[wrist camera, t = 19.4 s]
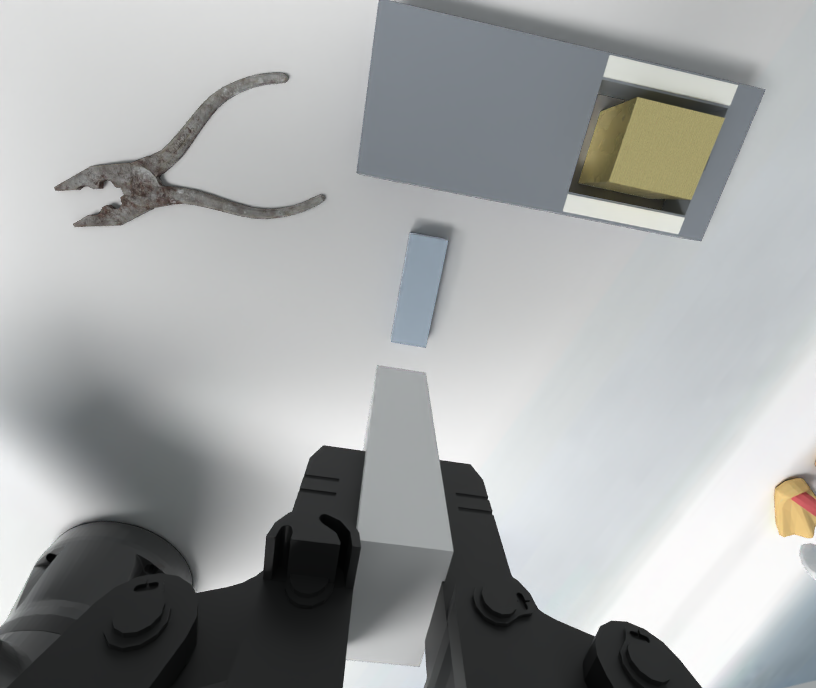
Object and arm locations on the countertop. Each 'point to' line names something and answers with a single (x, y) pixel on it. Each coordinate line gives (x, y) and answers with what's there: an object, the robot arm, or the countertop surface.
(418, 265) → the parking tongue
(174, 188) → the pliers
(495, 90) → the rail board
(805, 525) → the toy
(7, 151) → the countertop surface
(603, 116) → the block
